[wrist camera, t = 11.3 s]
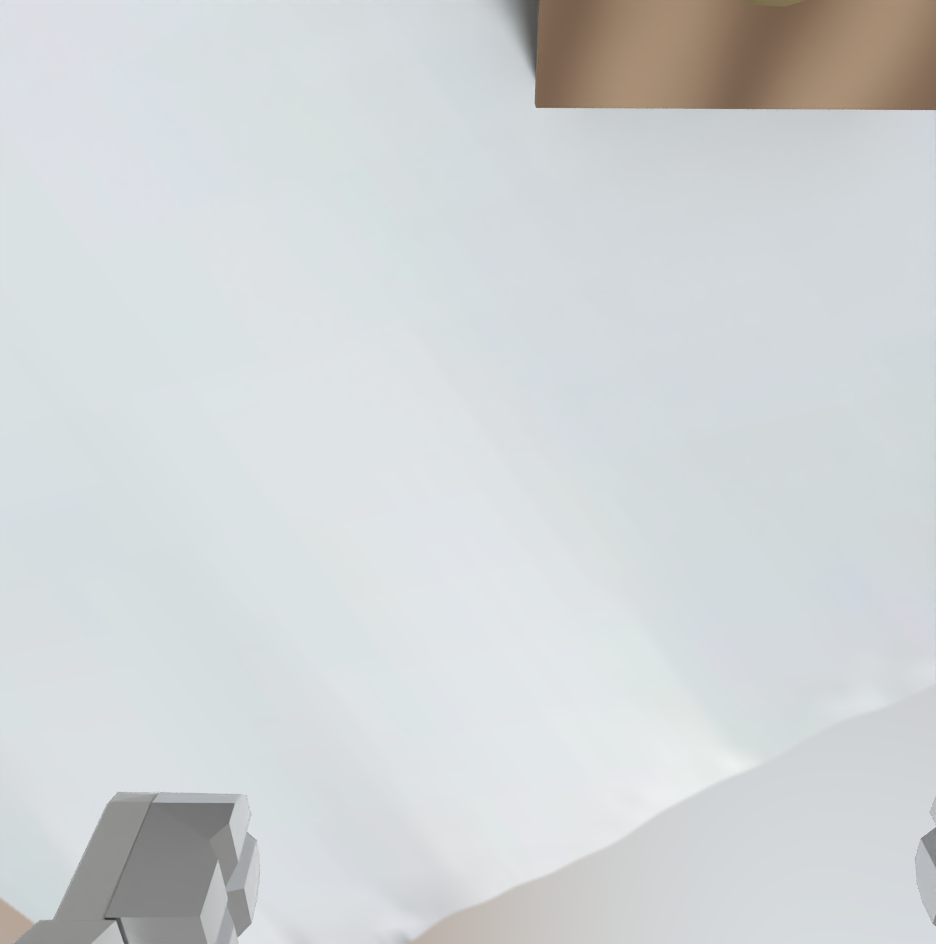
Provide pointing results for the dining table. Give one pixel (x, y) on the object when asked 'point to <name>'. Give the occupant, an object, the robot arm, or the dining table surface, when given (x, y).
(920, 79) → the walnut stand
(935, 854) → the robot arm
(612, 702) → the dining table surface
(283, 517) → the dining table surface
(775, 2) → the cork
